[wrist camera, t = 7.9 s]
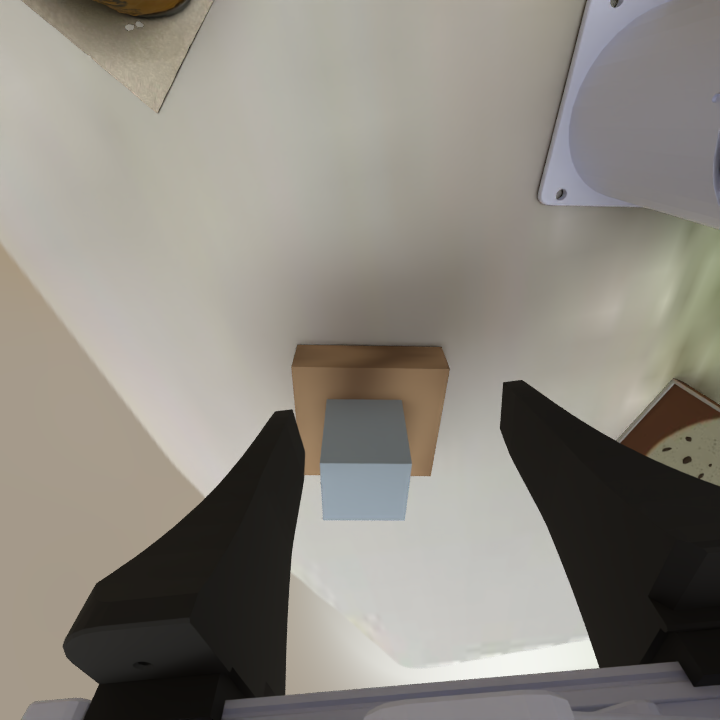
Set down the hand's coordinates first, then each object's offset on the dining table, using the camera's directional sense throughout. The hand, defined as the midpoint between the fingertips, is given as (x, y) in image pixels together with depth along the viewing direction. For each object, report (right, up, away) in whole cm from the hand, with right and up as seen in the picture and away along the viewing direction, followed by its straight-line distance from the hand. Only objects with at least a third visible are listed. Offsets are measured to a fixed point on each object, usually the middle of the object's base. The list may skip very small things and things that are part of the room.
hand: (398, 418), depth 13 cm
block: (-1, -2, +11) cm, 11 cm away
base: (-1, -1, +13) cm, 13 cm away
